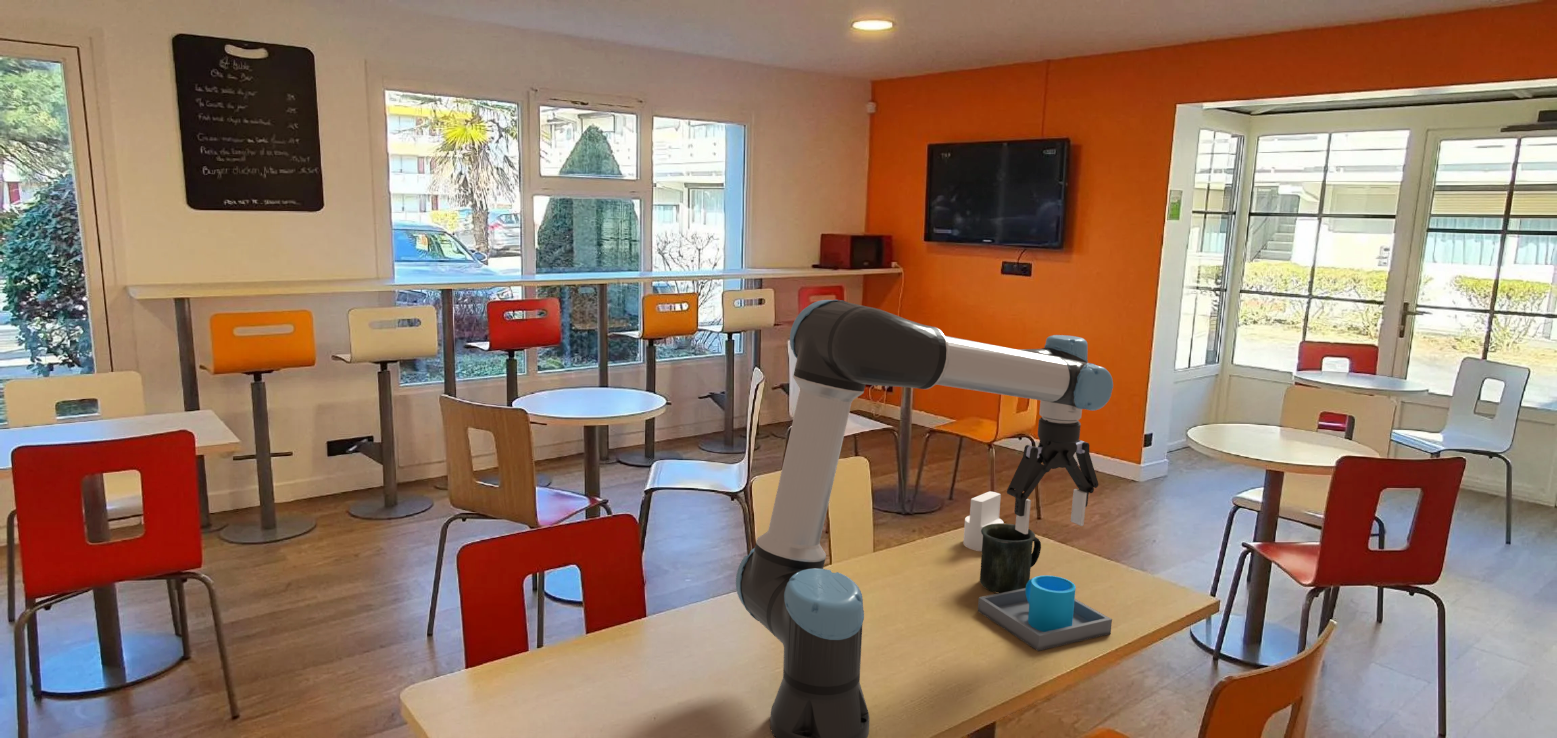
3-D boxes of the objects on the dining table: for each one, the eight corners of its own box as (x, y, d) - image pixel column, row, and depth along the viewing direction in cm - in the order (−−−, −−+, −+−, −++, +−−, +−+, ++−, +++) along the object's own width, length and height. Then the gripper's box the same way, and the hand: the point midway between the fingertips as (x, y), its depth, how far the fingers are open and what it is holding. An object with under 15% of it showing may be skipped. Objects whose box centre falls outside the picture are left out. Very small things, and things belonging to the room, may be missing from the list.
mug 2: (1081, 630, 174) (1084, 589, 173) (1045, 636, 171) (1048, 595, 170) (1042, 604, 185) (1045, 565, 184) (1008, 609, 182) (1011, 570, 181)
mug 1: (966, 580, 198) (970, 527, 195) (1019, 569, 204) (1023, 518, 202) (1000, 600, 188) (1004, 544, 186) (1054, 588, 195) (1058, 534, 192)
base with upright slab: (989, 554, 212) (993, 505, 210) (956, 544, 218) (959, 496, 216) (1009, 545, 219) (1012, 496, 217) (976, 535, 225) (979, 488, 223)
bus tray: (1038, 651, 167) (1039, 635, 166) (977, 611, 183) (978, 597, 182) (1110, 633, 174) (1112, 619, 174) (1046, 597, 190) (1048, 583, 189)
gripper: (1020, 428, 162) (1010, 542, 166) (1124, 418, 173) (1113, 526, 177) (993, 418, 169) (984, 528, 173) (1095, 410, 180) (1085, 514, 184)
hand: (1049, 527), depth 175 cm, fingers open, 13 cm apart
